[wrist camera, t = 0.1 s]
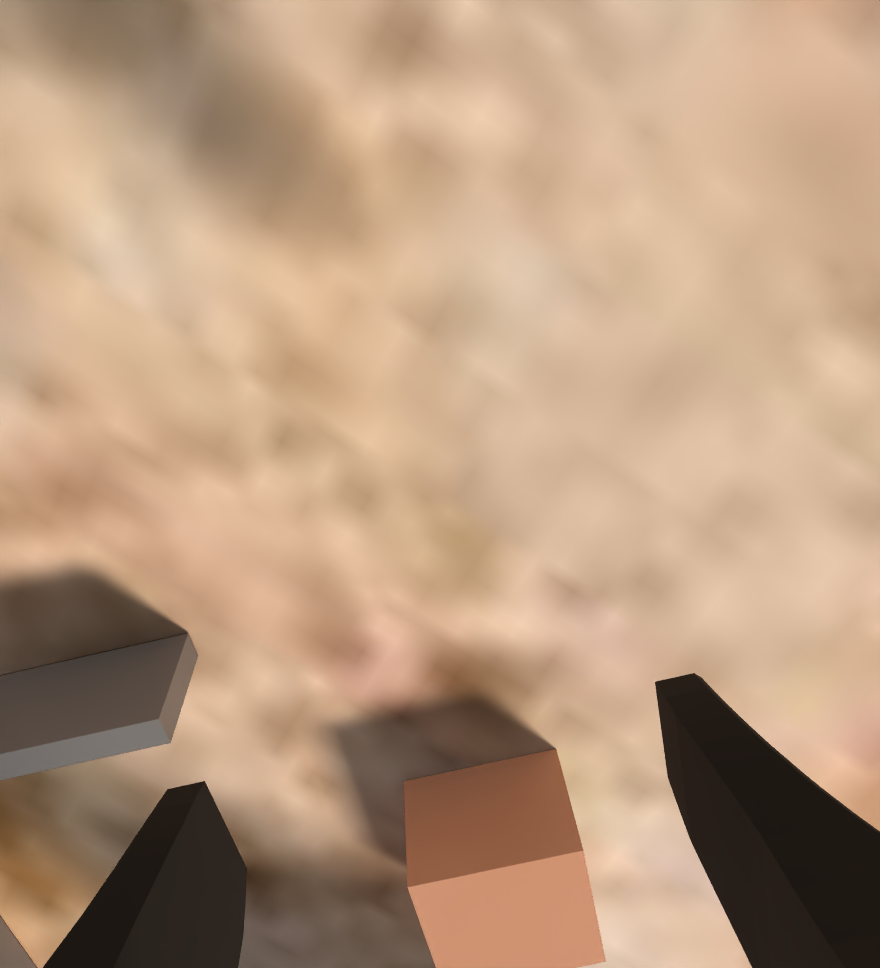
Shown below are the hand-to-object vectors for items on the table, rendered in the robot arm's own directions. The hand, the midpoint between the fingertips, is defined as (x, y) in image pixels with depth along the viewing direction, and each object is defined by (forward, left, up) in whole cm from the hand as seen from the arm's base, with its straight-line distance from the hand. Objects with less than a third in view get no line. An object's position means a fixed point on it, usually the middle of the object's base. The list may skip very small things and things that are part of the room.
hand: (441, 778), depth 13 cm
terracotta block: (-12, 0, -10) cm, 16 cm away
